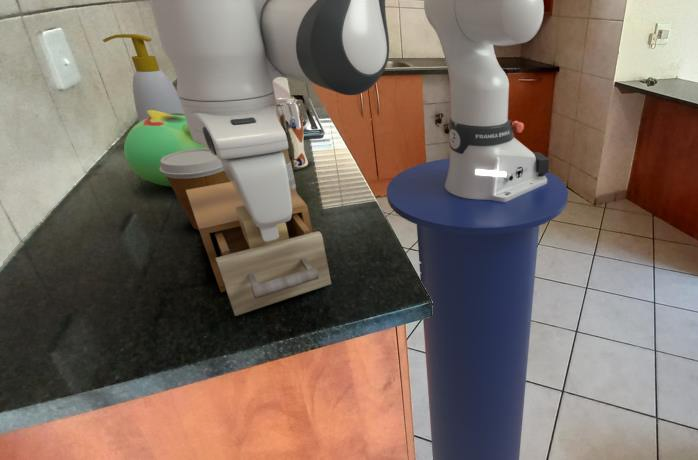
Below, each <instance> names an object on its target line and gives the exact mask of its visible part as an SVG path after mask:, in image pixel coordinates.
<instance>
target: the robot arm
mask: <svg viewBox="0 0 698 460" xmlns="http://www.w3.org/2000/svg"><path fill="white" fill-rule="evenodd" d="M149 3H150V7H151V13H152V17H153V20H154V23H155V28H156V30H157V34H158V37H159V41H160V43H161V48H162V50H163V52H164V55H166V57H167V59H168V60H169V61H170V63H171V65H172V67H173V69H174V72H175V75H176V90H177V93H178V96H179V99H180V102H181V106H182V109H183V112H184V115H185V118H186V121H187V124H188V127H189V130H190V134H191V137H192V139H193V141H195V142H196V143H199V144H202V145H204V146H205V147H206V148H208V149H210V152H211V153H212V154H213V155H215V156H217V157H218V159H220V160H221V163H222V166H223V169H224V171H225V173H226V175H227V177H228V178H229V180H230V182H231V183H232V185H233V187H234V189H235V190H236V192H237V194H238V196H239V197H240V199H241V201H242V203H243V204H244V206H245V208H246V210H247V211H248V213H249V215H250V216H251V218H252V221H253V222H254V224H255V225H256V226H257V227H258V228H259V232H260V235H261V237H262V239H263V240H264V241H266V242H268V241H272V240H275V239H278V237H279V233H278V229H277V224H280V223H284V222H287V221H289V220H290V219H291V217H292V200H291V193H290V185H289V178H288V172H287V166H286V161H285V157H284V154H283V152H282V151H284V150H287V149H288V141H287V136H286V133H285V131H284V128H283V127H282V125H281V120H280V116H279V112H278V107H277V103H276V98H275V94H274V89H273V80H274V79H275V78H277V77H283V78H287V80H292V81H295V82H298V83H304V84H310V85H313V86H318V87H320V88H323V89H326V90H329V91H332V92H334V93H337V94H340V95H344V96H357V95H360V94H362V93H365V92H367V91H369V90H370V89H371V88H372V87H374V86H375V85H376V83H377V82H378V81H379V80H380V78H381V76H383V74H384V72H385V70H386V68H387V65H388V61H389V57H390V38H389V37H390V36H389V29H388V22H387V21H388V20H387V15H386V0H149ZM423 6H424V7H423V8H424V13H425V17H426V19H427V21H428V23H429V25H430V26H431V27H432V28H433V30H434V31H435V33H436V35H437V37H438V40H439V42H440V47H441V50H442V52H443V56H444V59H445V63H446V67H447V73H448V77H449V78H448V79H449V93H450V94H449V95H450V118H449V120H448V139H449V147H450V154H449V155H450V156H449V158H450V164H449V170H448V175H447V179H446V183H445V189H446V190H447V191H448V192H450V193H451V194H453V195H456V196H458V197H462V198H467V199H476V200H493V201H498V202H507V201H509V200H511V199H514V198H516V197H518V196H520V195H523V194H525V193H527V192H529V191H531V190H534V189H536V188H538V187H540V186H543V185H545V184H547V178H546V177H545V176H544V175H545V174H546V173H548V172H549V167H550V158H548V157H546V156H545V155H544V154H543V153H541V152H540V151H531V149H529V148H528V147H527V146H525V145H524V144H523V143H521V141H519V140H518V139H517V138H516V137H515V134H514V132H516V133H522V132H523V130H524V129H525V124H524V123H523V122H521V121H518V120H514V121H512V120H510V119H509V97H510V96H509V95H510V93H509V92H510V81H509V77H508V75H507V74H506V72H505V71H504V70H503V67H501V65H500V63H499V60H498V59H497V55H496V53H495V48H494V46H498V47H499V46H500V47H507V46H508V47H509V46H516V45H521V44H525V43H528V42H529V41H531V40H532V39H533V38H534V37H535V36H536V35H537V33H538V32H539V30H540V29H541V26H542V23H543V19H544V14H545V5H544V0H423Z"/></svg>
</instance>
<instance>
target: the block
mask: <svg viewBox="0 0 698 460" xmlns="http://www.w3.org/2000/svg"><path fill="white" fill-rule="evenodd" d="M236 211H237V215H238V218H239V222H240V225H241V228H242V232H243V235H244V238H245V240H246V242H247V244H248V246H249V248H250V249H251V248H255V247H259V246H263V245H267V244H271V243H274V242H278V241H282V240H286V239H289V235H288V231H287V227H286V223H285V222H284V223H280V224H277V229H278V233H279V237H278V239H275V240H272V241H268V242H266V241H264V240H263V239H262V237H261V235H260V232H259V228H258V227H257V226H256V225H255V224H254V222H253V221H252V218H251V216H250V215H249V213H248V211H247V210H246V208H245V206H239V207H236Z"/></svg>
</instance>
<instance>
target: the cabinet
mask: <svg viewBox="0 0 698 460" xmlns="http://www.w3.org/2000/svg"><path fill="white" fill-rule="evenodd" d="M186 193H187V195H188V198H189V201H190V204H191V207H192V210H193V213H194V216H195V219H196V222H197V225H198V228H199V230H198V231H199V234H200V237H201V240H202V243H203V246H204V248H205V251H206V254H207V257H208V259H209V264H210V266H211V268H212V272H213V275H214V277H215V280H216V283H217V286H218V289H219V292H220V293H224V292H227V291H226V288H225V285H224V282H223V280H222V277H221V274H220V271H219V268H218V265H217V262H216V259H215V258H216V257H220V256H221V255H220V252H219V249H218V246H217V243H216V240H215V237H214V234H213V232H217V231H221V230H226V229H230V228H234V227H239V226H241V225H240V222H239V218H238V215H237V211H236V207H239V206H244V204H243V203H242V201H241V199H240V197H239V196H238V194H237V192H236V190H235V189H234V187H233V185H232V183H231V182H227V183H222V184H216V185H210V186H205V187H199V188H193V189H187V190H186ZM290 193H291V200H292V214H295V213H297V214H298V216H299V217H300V218H301V220H302V221H303V222H304V223H305V225H306V226H307V227H308V229H309V230H310V233H313V228H312V223H311V217H310V213H309V208H308V204H307V202H305V201H304V199H303V198H302V197H301V196H300V195H299V194H298V192H297V193H296V192H295V190H294V189H293V188H292V187H291V186H290Z"/></svg>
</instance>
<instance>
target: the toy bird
mask: <svg viewBox="0 0 698 460" xmlns="http://www.w3.org/2000/svg"><path fill="white" fill-rule="evenodd" d="M147 113H148V114H149V116H150V117H149V118H147V119H145V120H143V121H141V122H139V121H138V122H137V123H136V124H135V125H133V127H132V128H131V129H130V131H129V132H128V133H127V135H126V137H125V139H124V144H123V154H124V158H125V161H126V164H127V165H128V167H129V168H130V170H132V171H133V172H134V174H136V175H137V176H138V177H140V178H141V179H143V180H145V181H147V182H149V183H152V184H155V185H159V186H163V187H171V184H170V182H169V181H168V179H167V177H166V176H165V175H164V174H163V173H162V172H161V171H160V169H159V168H160V166H161V159H162V158H163V157H164V156H166V155H169V154H172V153H175V152H179V151H184V150H190V149H202V148H206V147H205V146H204V145H202V144H199V143H196V142H195V141H193V139H192V137H191V134H190V130H189V127H188V124H187V121H186V118H185V115H184V114H181V113H173V114H167V113H163V112H160V111H155V110H148V111H147Z"/></svg>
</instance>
